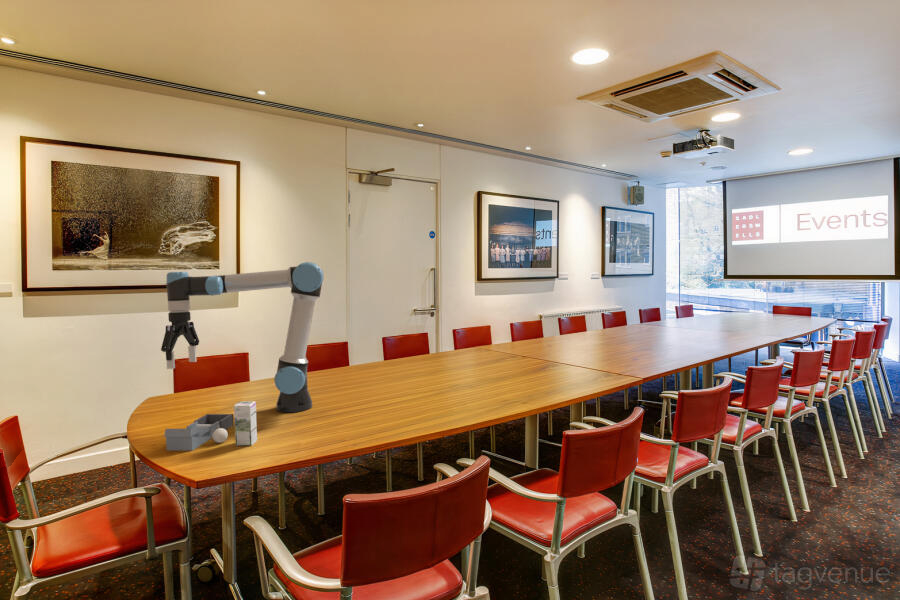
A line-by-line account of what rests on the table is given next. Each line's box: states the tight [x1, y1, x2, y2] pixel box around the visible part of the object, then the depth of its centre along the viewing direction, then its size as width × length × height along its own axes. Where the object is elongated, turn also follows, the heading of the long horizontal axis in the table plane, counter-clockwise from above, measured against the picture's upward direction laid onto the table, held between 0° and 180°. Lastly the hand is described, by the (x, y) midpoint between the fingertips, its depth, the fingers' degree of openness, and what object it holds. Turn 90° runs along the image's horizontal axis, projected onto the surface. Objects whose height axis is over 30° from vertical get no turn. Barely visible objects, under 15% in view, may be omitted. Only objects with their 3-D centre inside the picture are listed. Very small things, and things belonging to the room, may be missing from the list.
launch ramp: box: [163, 421, 220, 452], centre depth 173 cm, size 19×9×8 cm, turn 178°
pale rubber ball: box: [211, 428, 229, 444], centre depth 172 cm, size 5×5×5 cm
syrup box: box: [233, 400, 258, 447], centre depth 170 cm, size 6×6×14 cm
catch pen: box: [193, 413, 234, 431], centre depth 187 cm, size 9×11×4 cm
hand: (182, 365), depth 191 cm, fingers open, 13 cm apart
